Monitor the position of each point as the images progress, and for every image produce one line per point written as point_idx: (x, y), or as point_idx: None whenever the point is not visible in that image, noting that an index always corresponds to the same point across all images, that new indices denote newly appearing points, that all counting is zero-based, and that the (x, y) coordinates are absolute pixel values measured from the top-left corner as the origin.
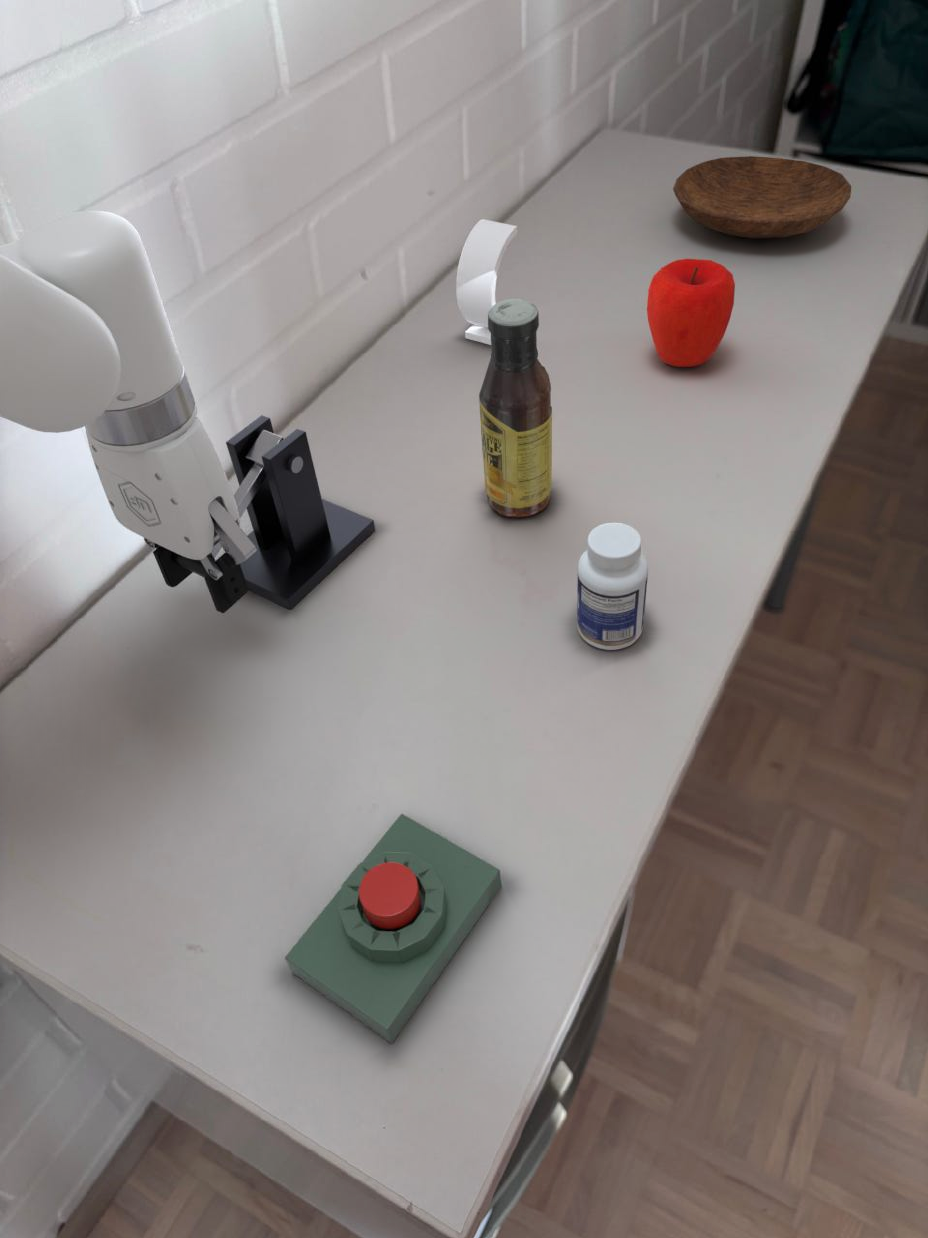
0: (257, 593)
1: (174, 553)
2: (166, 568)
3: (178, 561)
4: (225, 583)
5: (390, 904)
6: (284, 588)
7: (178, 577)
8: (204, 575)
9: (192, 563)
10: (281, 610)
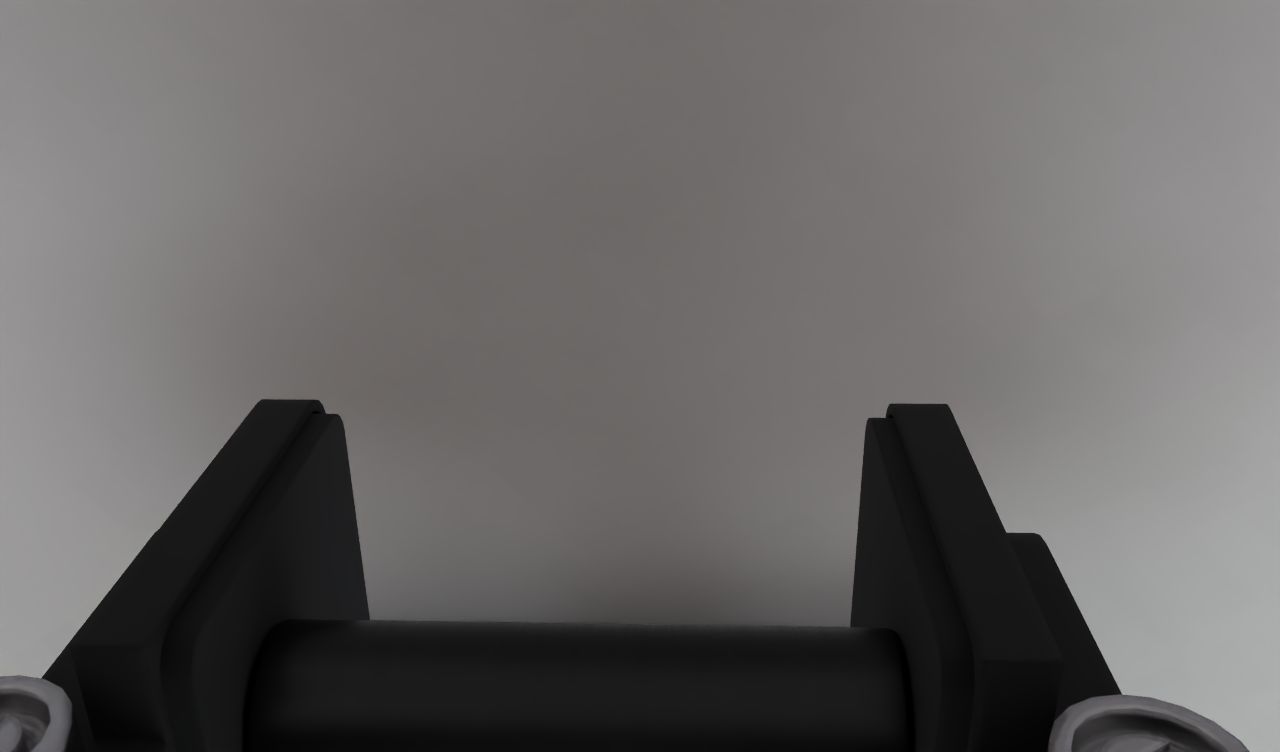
0: None
1: (880, 731)
2: (903, 540)
3: (789, 666)
4: (53, 671)
5: None
6: None
7: (871, 509)
8: (401, 647)
9: (580, 715)
10: (372, 600)
